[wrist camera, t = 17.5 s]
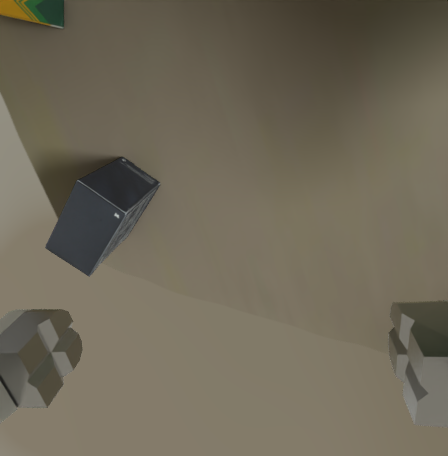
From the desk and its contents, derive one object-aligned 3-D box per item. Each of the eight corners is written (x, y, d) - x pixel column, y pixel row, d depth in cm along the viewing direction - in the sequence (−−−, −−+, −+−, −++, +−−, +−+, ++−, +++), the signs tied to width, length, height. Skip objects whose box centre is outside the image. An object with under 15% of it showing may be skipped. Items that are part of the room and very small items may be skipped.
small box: (120, 152, 42) (74, 176, 32) (162, 182, 43) (130, 213, 33) (88, 212, 46) (40, 248, 37) (127, 238, 47) (90, 279, 38)
